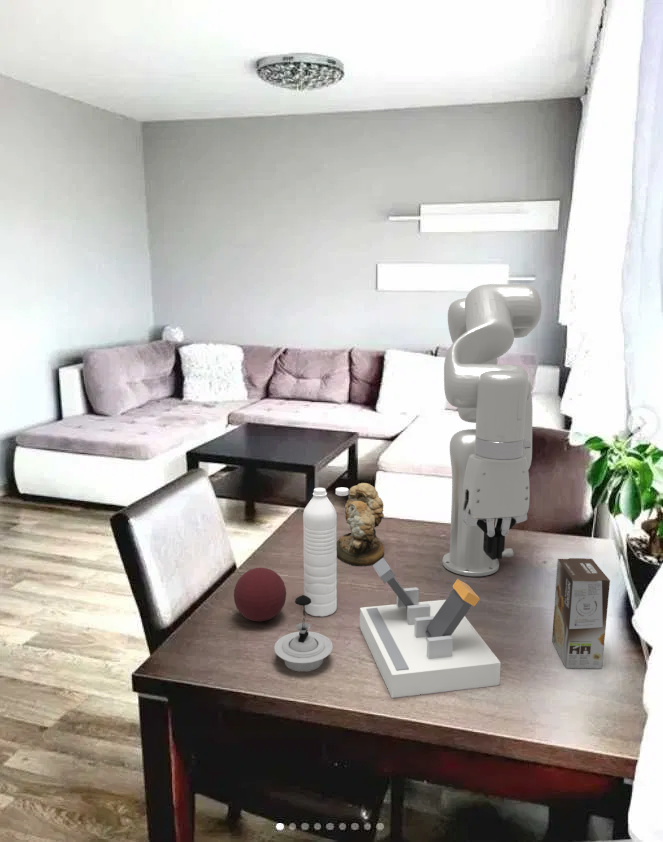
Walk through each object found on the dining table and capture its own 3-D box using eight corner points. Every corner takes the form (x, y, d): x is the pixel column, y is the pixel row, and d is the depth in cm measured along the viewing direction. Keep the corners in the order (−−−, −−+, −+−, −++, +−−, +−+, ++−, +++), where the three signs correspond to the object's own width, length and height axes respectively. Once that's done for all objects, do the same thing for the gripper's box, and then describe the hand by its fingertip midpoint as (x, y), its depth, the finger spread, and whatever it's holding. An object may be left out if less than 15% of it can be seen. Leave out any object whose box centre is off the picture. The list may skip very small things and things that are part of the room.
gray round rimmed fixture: (323, 613, 107) (339, 585, 116) (264, 604, 110) (285, 578, 119) (323, 682, 110) (339, 649, 119) (265, 672, 112) (286, 641, 122)
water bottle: (302, 616, 130) (300, 493, 125) (305, 600, 137) (304, 483, 131) (347, 618, 130) (347, 494, 125) (348, 602, 136) (349, 484, 131)
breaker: (415, 600, 126) (383, 557, 123) (423, 613, 121) (390, 569, 118) (405, 607, 126) (372, 565, 123) (413, 621, 121) (379, 577, 118)
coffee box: (603, 669, 113) (612, 581, 110) (565, 668, 113) (572, 580, 110) (585, 640, 122) (592, 557, 119) (549, 639, 122) (555, 557, 119)
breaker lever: (431, 637, 116) (468, 585, 115) (441, 653, 111) (480, 598, 110) (420, 631, 115) (457, 578, 114) (430, 647, 110) (468, 592, 109)
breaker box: (450, 618, 130) (452, 583, 128) (499, 685, 109) (501, 644, 107) (359, 627, 127) (360, 591, 125) (391, 698, 105) (392, 656, 104)
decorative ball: (294, 609, 133) (293, 562, 131) (274, 635, 124) (273, 584, 122) (247, 602, 136) (246, 556, 134) (225, 626, 127) (223, 577, 125)
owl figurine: (331, 537, 170) (331, 472, 166) (377, 536, 171) (379, 471, 167) (338, 567, 152) (338, 495, 149) (389, 566, 153) (391, 494, 150)
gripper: (531, 441, 112) (524, 544, 116) (446, 445, 110) (442, 551, 113) (553, 451, 105) (546, 562, 109) (463, 456, 102) (458, 569, 106)
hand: (493, 556), depth 111 cm, fingers closed
